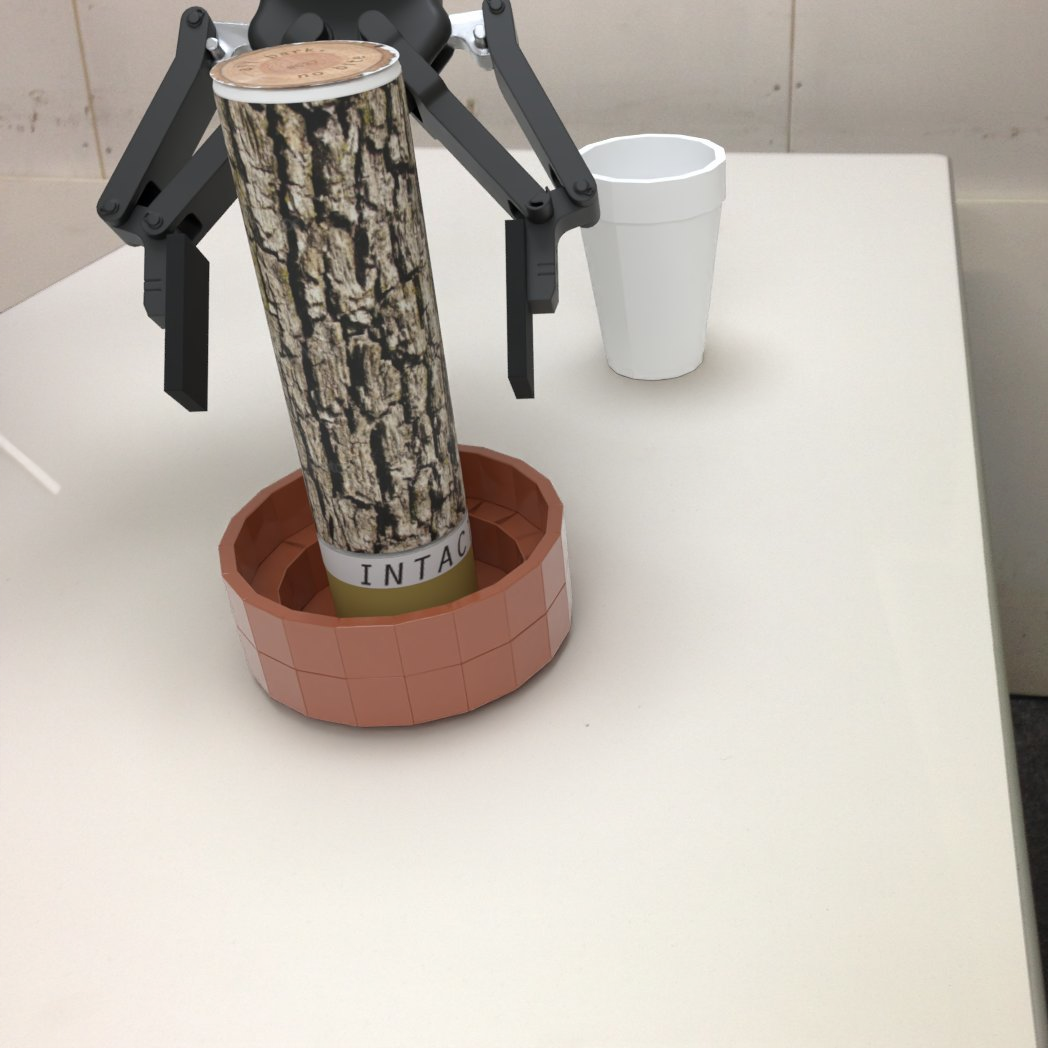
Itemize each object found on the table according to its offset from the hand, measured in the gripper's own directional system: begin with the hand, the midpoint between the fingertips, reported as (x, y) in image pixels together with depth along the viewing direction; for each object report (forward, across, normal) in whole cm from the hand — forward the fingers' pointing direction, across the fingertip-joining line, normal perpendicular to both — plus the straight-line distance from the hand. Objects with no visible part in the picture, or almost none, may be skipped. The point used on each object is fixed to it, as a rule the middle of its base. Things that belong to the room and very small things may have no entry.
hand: (353, 396), depth 52 cm
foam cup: (-12, -12, -32) cm, 36 cm away
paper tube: (+8, 0, -11) cm, 13 cm away
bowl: (+8, 0, -11) cm, 14 cm away
